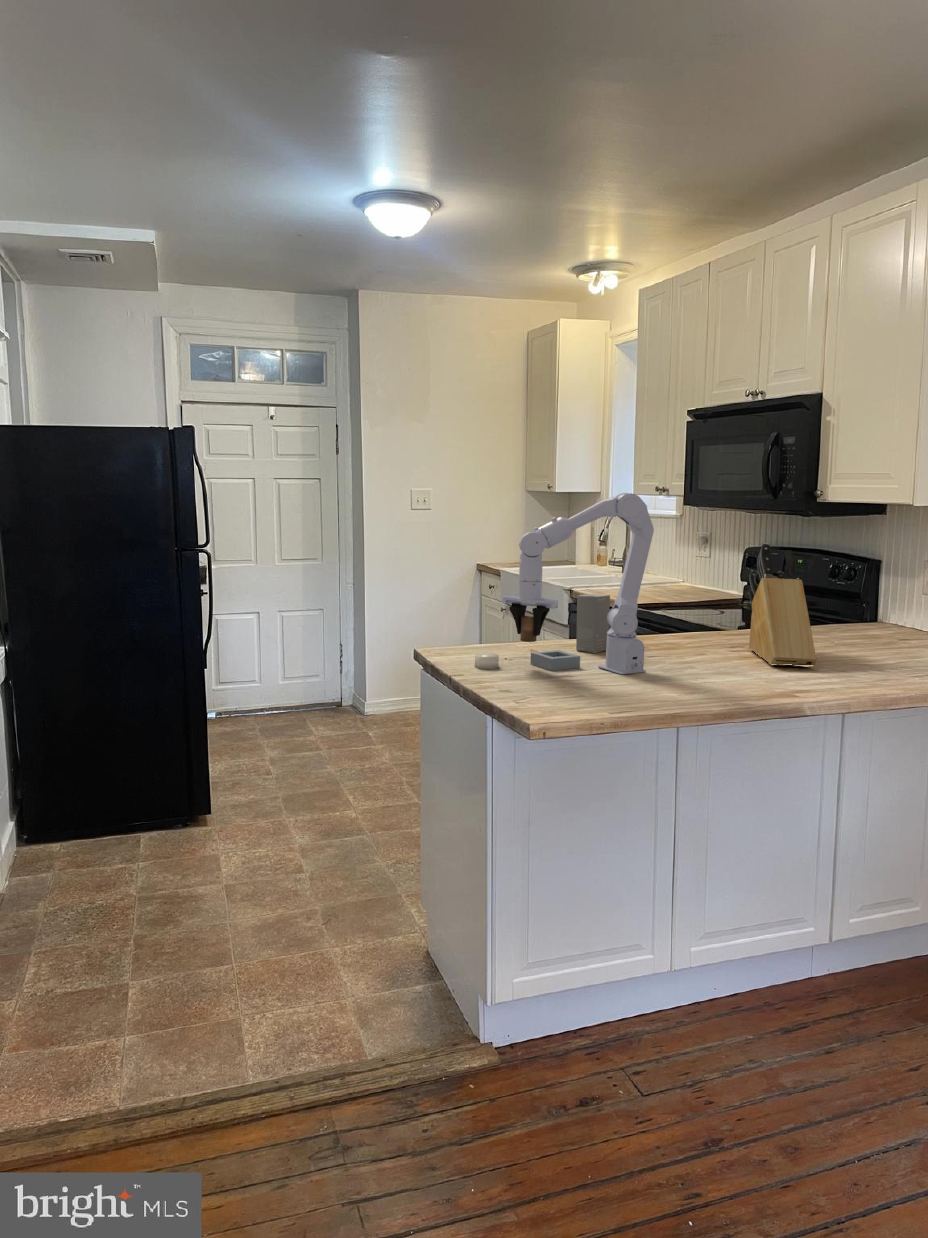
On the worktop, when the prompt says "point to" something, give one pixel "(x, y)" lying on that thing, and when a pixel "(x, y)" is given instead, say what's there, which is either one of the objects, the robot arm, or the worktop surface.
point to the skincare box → (592, 622)
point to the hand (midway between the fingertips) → (528, 634)
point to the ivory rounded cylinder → (486, 660)
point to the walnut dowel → (527, 629)
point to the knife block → (779, 614)
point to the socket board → (555, 660)
